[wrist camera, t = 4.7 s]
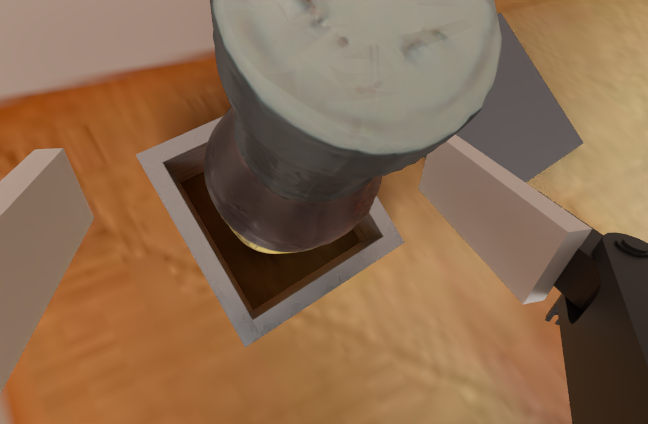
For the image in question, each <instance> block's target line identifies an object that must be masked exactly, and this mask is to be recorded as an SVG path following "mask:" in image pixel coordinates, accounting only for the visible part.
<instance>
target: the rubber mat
mask: <svg viewBox="0 0 648 424" xmlns="http://www.w3.org/2000/svg"><path fill="white" fill-rule="evenodd" d="M497 17H498V22H499V27H500V32H501V37H502V40H501V54H500V59H499V64H498V69H497V73H496V76H495V79H494V83H493V87H492V89H491V90H490V91H489V93H488V94H487V96H486V97H485V100H484V103H483V106H482V108H481V111H480V112H479V113H478V114H477V115H476V116H475V117H474V118H473V119H472V120H471V121H470V122H469V123H468V124H467V125H466V126H465V127H464V128H462V129H461V130H460V131H459V132H458V133H456V134H455V135H457V136H458V137H460V138H461V139H463V140H464V141H466V142H467V143H469V144H470V145H471V146H473V147H474V148H476V149H477V150H479V151H480V152H482V153H483V154H485V155H486V156H487V157H489V158H490V159H492V160H493V161H495V162H496V163H498V164H499V165H500V166H502V167H503V168H505V169H506V170H508V171H509V172H511V173H512V174H514V175H515V176H516V177H518V178H519V179H521V180H522V181H524V182H525V183H526V182H527V181H529V180H530V179H531V178H533V177H534V176H536V175H537V174H539V173H540V172H542V171H543V170H545V169H546V168H548V167H549V166H551V165H552V164H553V163H555V162H556V161H558V160H559V159H561V158H562V157H564V156H565V155H567V154H568V153H570V152H571V151H573V150H574V149H575V148H577V147H578V146H580V145H581V144H583V141H582V140H581V138H580V137H579V135H578V134H577V132H576V130H575V129H574V127H573V126H572V124H571V123H570V121H569V119H568V118H567V116H566V115H565V113H564V111H563V110H562V108H561V107H560V105H559V104H558V102H557V100H556V99H555V97H554V96H553V94H552V93H551V91H550V89H549V88H548V86H547V85H546V83H545V82H544V80H543V78H542V77H541V75H540V74H539V72H538V71H537V69H536V67H535V66H534V64H533V63H532V61H531V60H530V58H529V56H528V55H527V53H526V52H525V50H524V48H523V47H522V45H521V44H520V42H519V41H518V39H517V37H516V36H515V34H514V33H513V31H512V30H511V28H510V26H509V25H508V23H507V22H506V20H505V19H504V17H503V15H502V14H501V13H499V14H497ZM424 157H425V158H426V157H427V155H426V156H424Z"/></svg>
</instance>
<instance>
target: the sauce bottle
mask: <svg viewBox="0 0 648 424" xmlns="http://www.w3.org/2000/svg"><path fill="white" fill-rule="evenodd" d="M210 5H211V14H212V22H213V28H214V30H213V39H214V44H215V55H216V63H217V69H218V73H219V76H220V79H221V82H222V85H223V88H224V90H225V93H226V95H227V97H228V100H229V102H230V104H231V107H230V109H229V110H228V111H227V112H226V114H225V115H224V116H223V117H222V119H221V120H220V121H219V122H218V124H217V125H216V126H215V128H214V129H213V131H212V133H211V135H210V137H209V140H208V143H207V146H206V150H205V157H204V175H205V181H206V186H207V189H208V192H209V195H210V197H211V200H212V201H213V203H214V205H215V207H216V209H217V211H218V212H219V214H220V215H221V217H222V218H223V219H224V221H225V222H226V223H227V224H228V225H229V227H230V228H231V230H232V231H233V232H234V233H235V234H236V236H237V237H238V238H239V239H240V240H241V241H242V242H243V243H244V244H246V245H247V246H249V247H250V248H252V249H254V250H257V251H259V252H263V253H270V254H281V253H295V252H302V251H306V250H310V249H314V248H316V247H318V246H322V245H324V244H330V243H331V242H333V241H335V240H336V239H338V238H340V237H342V236H344V235H345V234H346V233H347V232H349V231H350V230H352V229H353V228H354V227H355V226H356V225H357V224H358V223H359V222H360V221H361V220H362V219H363V218H364V217H365V216H366V215H368V214H369V212H370V208H371V206H372V205H373V203H374V199H375V197H376V195H377V193H378V190H379V185H380V183H381V179H382V176H384V175H387V174H389V173H391V172H394V171H398V170H402V169H403V168H405V167H406V166H408V165H411V164H414V163H416V162H417V161H418V160H420V159H421V158H422V157H424V156H426V155H427V154H429V153H431V152H432V151H434V150H435V149H436V148H437V147H439V146H440V145H441V144H443V143H445V142H446V141H448V140H449V139H450V138H451V137H453V136H454V135H455V134H456V133H458V132H459V131H460V130H461V129H462V128H464V127H465V126H466V125H467V124H468V123H469V122H470V121H471V120H472V119H473V118H474V117H475V116H476V115H477V114H478V113H479V112H480V111H481V108H482V106H483V103H484V100H485V97H486V96H487V94H488V93H489V91H490V90H491V89H492V87H493V83H494V79H495V76H496V73H497V69H498V64H499V59H500V54H501V40H502V37H501V32H500V27H499V22H498V17H497V12H496V7H495V2H494V0H210Z"/></svg>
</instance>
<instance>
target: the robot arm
mask: <svg viewBox="0 0 648 424" xmlns="http://www.w3.org/2000/svg"><path fill="white" fill-rule="evenodd" d="M418 189H419V190H420V191H421V193H422V194H423V195H424V196H425V197H426V198H427V199H428V200H429V201H430V202H431V204H432V205H433V206H434V207H435V208H436V209H437V210H438V211H439V212H440V213H441V215H442V216H443V217H444V218H445V219H446V220H447V221H448V222H449V223H450V224H451V226H452V227H453V228H454V229H455V230H456V231H457V232H458V233H459V234H460V236H461V237H462V238H463V239H464V240H465V241H466V242H467V243H468V244H469V245H470V247H471V248H472V249H473V250H474V251H475V252H476V253H477V254H478V255H479V256H480V258H481V259H482V260H483V261H484V262H485V263H486V264H487V265H488V266H489V267H490V269H491V270H492V271H493V272H494V273H495V274H496V275H497V276H498V277H499V278H500V280H501V281H502V282H503V283H504V284H505V285H506V286H507V287H508V288H509V289H510V291H511V292H512V293H513V294H514V295H515V296H516V297H517V298H518V299H519V300H520V302H521V303H522V304H527V303H532V302H537V301H543V300H544V299H545V298H546V297H547V295H548V294H549V292H550V291H551V289H552V288H553V286H555V287H556V288H557V289H558V290H559V291H560V292H561V293H562V294H561V295H560V297H559V298H558V300H557V301H556V302H555V304H554V305H553V307H552V308H551V309H550V311H549V312H548V314H547V315H546V319H545V320H546V321H550V320H551V319H552V317H553V316H554V315H558V316H559V319H558V320H557V321H556V323H555V324H557V325H560V332H561V339H562V347H563V355H564V362H565V370H566V378H567V385H568V393H569V401H570V408H571V416H572V424H648V243H646V242H644V241H642V240H640V239H638V238H635V237H632V236H629V235H626V234H621V233H607V234H605V235H602V234H600V233H599V232H598V231H596V230H595V229H593V228H592V227H590V226H589V225H587V224H586V223H584V222H583V221H581V220H580V219H579V218H577V217H576V216H574V215H573V214H571V213H570V212H568V211H567V210H565V209H563V208H562V207H561V206H560V205H558V204H557V203H555V202H553V201H552V200H551V199H549V198H548V197H547V196H545V195H544V194H542V193H541V192H539V191H537V190H535V189H534V188H532V187H531V186H530V185H528V184H527V183H525V182H524V181H522V180H521V179H519V178H518V177H516V176H515V175H514V174H512V173H511V172H509V171H508V170H506V169H505V168H503V167H502V166H500V165H499V164H498V163H496V162H495V161H493V160H492V159H490V158H489V157H487V156H486V155H485V154H483V153H482V152H480V151H479V150H477V149H476V148H474V147H473V146H471V145H470V144H469V143H467V142H466V141H464V140H463V139H461V138H460V137H458V136H457V135H454V136H453V137H451V138H450V139H449V140H448V141H446V142H445V143H443V144H441V145H440V146H439V147H437V148H436V149H435V150H434V151H432V152H431V153H429V154H427V157H426V161H425V165H424V169H423V173H422V177H421V180H420V184H419V188H418ZM93 219H94V217H93V214H92V212H91V210H90V208H89V205H88V203H87V201H86V198H85V196H84V194H83V192H82V189H81V187H80V185H79V183H78V180H77V178H76V176H75V174H74V171H73V169H72V167H71V165H70V162H69V160H68V158H67V156H66V153H65V151H64V149H63V148H56V149H35V150H34V151H33V152H32V153H31V154H29V155H28V156H27V157H26V158H25V159H24V160H23V161H22V162H21V163H20V164H19V165H18V166H16V167H15V168H14V169H13V170H12V171H11V172H10V173H9V174H8V175H7V176H6V177H5V178H3V179H2V180H1V181H0V394H1V392H2V390H3V388H4V386H5V384H6V383H7V381H8V379H9V377H10V375H11V373H12V371H13V369H14V368H15V366H16V364H17V362H18V360H19V358H20V356H21V354H22V353H23V351H24V349H25V347H26V345H27V343H28V341H29V339H30V338H31V336H32V334H33V332H34V330H35V328H36V326H37V324H38V323H39V321H40V319H41V317H42V315H43V313H44V311H45V309H46V308H47V306H48V304H49V302H50V300H51V298H52V296H53V294H54V293H55V291H56V289H57V287H58V285H59V283H60V281H61V279H62V278H63V276H64V274H65V272H66V270H67V268H68V266H69V264H70V263H71V261H72V259H73V257H74V255H75V253H76V251H77V249H78V248H79V246H80V244H81V242H82V240H83V238H84V236H85V234H86V233H87V231H88V229H89V227H90V225H91V223H92V221H93Z"/></svg>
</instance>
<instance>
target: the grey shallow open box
mask: <svg viewBox="0 0 648 424" xmlns="http://www.w3.org/2000/svg"><path fill="white" fill-rule="evenodd" d="M222 117H223V116H222ZM222 117H220V118H218V119H216V120H213V121H211V122H209V123H207V124H204V125H202V126H200V127H198V128H195V129H193V130H191V131H188V132H186V133H184V134H182V135H179V136H177V137H175V138H173V139H170V140H168V141H166V142H164V143H161V144H159V145H157V146H154V147H152V148H150V149H148V150H145V151H143V152H141V153H139V154H136V156H137V158H138V160H139V162H140V163H141V165H142V167H143V169H144V170H145V172H146V174H147V176H148V177H149V179H150V181H151V183H152V184H153V186H154V188H155V190H156V191H157V193H158V195H159V197H160V198H161V200H162V202H163V204H164V205H165V207H166V209H167V211H168V213H169V214H170V216H171V218H172V220H173V221H174V223H175V225H176V227H177V228H178V230H179V232H180V234H181V235H182V237H183V239H184V241H185V242H186V244H187V246H188V248H189V249H190V251H191V253H192V255H193V256H194V258H195V260H196V262H197V263H198V265H199V267H200V269H201V270H202V272H203V274H204V276H205V277H206V279H207V281H208V283H209V284H210V286H211V288H212V290H213V291H214V293H215V295H216V297H217V298H218V300H219V302H220V304H221V306H222V307H223V309H224V311H225V313H226V314H227V316H228V318H229V320H230V321H231V323H232V325H233V327H234V328H235V330H236V332H237V334H238V335H239V337H240V339H241V341H242V342H243V344H244V346H245V347H246V346H248V345H250V344H251V343H253V342H254V341H256V340H257V339H259V338H260V337H262V336H263V335H265V334H266V333H268V332H269V331H271V330H272V329H274V328H275V327H277V326H278V325H280V324H281V323H283V322H284V321H286V320H288V319H289V318H291V317H292V316H294V315H295V314H297V313H298V312H300V311H301V310H303V309H304V308H306V307H307V306H309V305H310V304H312V303H313V302H315V301H316V300H318V299H319V298H321V297H322V296H324V295H325V294H327V293H329V292H330V291H332V290H333V289H335V288H336V287H338V286H339V285H341V284H342V283H344V282H345V281H347V280H348V279H350V278H351V277H353V276H354V275H356V274H357V273H359V272H360V271H362V270H363V269H365V268H366V267H368V266H370V265H371V264H373V263H374V262H376V261H377V260H379V259H380V258H382V257H383V256H385V255H386V254H388V253H389V252H391V251H392V250H394V249H395V248H397V247H398V246H400V245H401V244H403V243H404V241H403V239H402V237H401V236H400V234H399V232H398V231H397V229H396V227H395V226H394V224H393V222H392V221H391V219H390V217H389V216H388V214H387V212H386V211H385V209H384V207H383V206H382V204H381V202H380V201H379V199H378V197H377V196H376V197H375V199H374V203H373V205H372V206H371V208H370V212H369V214H368V215H366V216H365V217H364V218H363V219H362V220H361V221H360V222H359V223H358V224H357V225H356V226H355V227H354V228H353V230H354V232H355V234H356V235H357V237H358V239H359V241H360V243H358V244H357V245H355V246H354V247H352V248H351V249H349V250H347V251H346V252H344V253H343V254H341V255H339V256H338V257H336V258H335V259H333V260H331V261H330V262H328V263H327V264H325V265H324V266H322V267H320V268H319V269H317V270H316V271H314V272H312V273H311V274H309V275H308V276H306V277H304V278H303V279H301V280H300V281H298V282H296V283H295V284H293V285H292V286H290V287H289V288H287V289H285V290H284V291H282V292H281V293H279V294H277V295H276V296H274V297H273V298H271V299H269V300H268V301H266V302H265V303H263V304H262V305H260V306H258V307H257V308H255V309H254V310H253V309H252V307H251V305H250V304H249V302H248V300H247V298H246V297H245V295H244V293H243V291H242V290H241V288H240V286H239V285H238V283H237V281H236V279H235V278H234V276H233V274H232V272H231V271H230V269H229V267H228V265H227V264H226V262H225V260H224V258H223V257H222V255H221V253H220V251H219V250H218V248H217V246H216V244H215V243H214V241H213V239H212V237H211V236H210V234H209V232H208V231H207V229H206V227H205V225H204V224H203V222H202V220H201V218H200V217H199V215H198V213H197V211H196V210H195V208H194V206H193V204H192V203H191V201H190V199H189V197H188V196H187V194H186V192H185V190H184V189H183V187H182V185H181V182H183V181H185V180H187V179H189V178H191V177H194V176H196V175H198V174H200V173H202V172H204V157H205V150H206V146H207V143H208V140H209V137H210V135H211V133H212V131H213V129H214V128H215V126H216V125H217V124H218V122H219V121H220V120H221V119H222Z"/></svg>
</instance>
